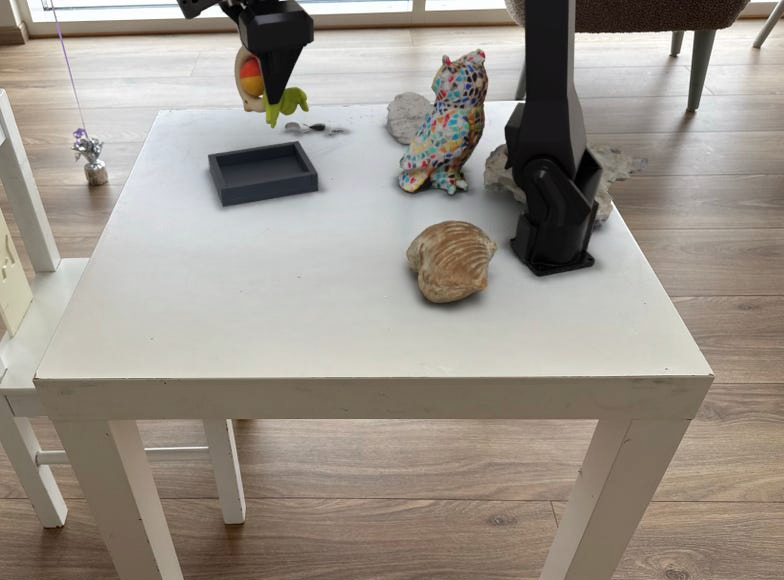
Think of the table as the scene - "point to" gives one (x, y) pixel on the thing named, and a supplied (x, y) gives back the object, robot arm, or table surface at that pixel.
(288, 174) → the display tray
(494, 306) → the table surface
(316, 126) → the toy
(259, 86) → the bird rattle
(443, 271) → the seashell
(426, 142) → the figurine
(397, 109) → the stone
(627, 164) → the fossil rock
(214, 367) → the table surface
